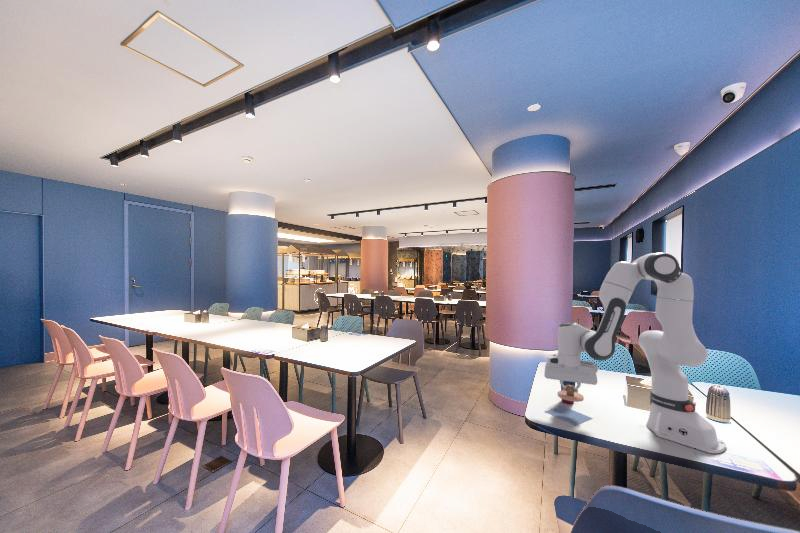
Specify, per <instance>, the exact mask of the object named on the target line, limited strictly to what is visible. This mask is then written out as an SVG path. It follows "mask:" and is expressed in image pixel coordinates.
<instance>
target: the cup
mask: <svg viewBox="0 0 800 533" xmlns="http://www.w3.org/2000/svg"><path fill="white" fill-rule="evenodd" d="M563 384H564V386H566V385H573V386H574V387H576V382H569V381H563ZM560 391H563V387H562V385H561V384H560ZM561 402H562V403H563V404H565V405H574V404H575V402H573V401H567V400H564V399H561Z"/></svg>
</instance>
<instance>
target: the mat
mask: <svg viewBox="0 0 800 533" xmlns="http://www.w3.org/2000/svg"><path fill="white" fill-rule="evenodd" d="M544 413H546V414H549V415H551V416H553V417H555V418H557V419H559V420H561V421H564V422H566V423H569V424H570V425H573V426H575V427H576V426H579V425H580V424H583V423H586V422H588V421H590V420H593V419H594V418H593V417H591V416H588V415H585V414H583V413H581V412H578V411H576V410H573V409H571V408H568V407H565V406H564V405H559V406H557V407H553V408H550V409H548V410H545V411H544Z"/></svg>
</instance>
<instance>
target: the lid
mask: <svg viewBox="0 0 800 533" xmlns="http://www.w3.org/2000/svg"><path fill="white" fill-rule="evenodd" d="M557 397H558V398H560V399H561V400H562V399H564V400H567V401H573V402H574V403H575V402H576V403H577V402H578V403H579V402H583V401H584V399H585V396H583V394H581V393H579V392H578V393H576V392H574V386H573V385H566V391H561V390H559V391H557Z"/></svg>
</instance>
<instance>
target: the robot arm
mask: <svg viewBox="0 0 800 533" xmlns="http://www.w3.org/2000/svg"><path fill="white" fill-rule="evenodd" d="M641 281H653V282H654V283H655V284H656V287H657V293H656V301H655V310H654V311H655V312H654V317H655V318H656V319H657V321H658V322H659V323H660V325H661V329H662V330H656V329H654V330H653V329H652V330H645V331H643V332H641V333H640V334H639V336H638V340H637V343H638V347H640V349H641V350H642V351H643V353H644V354H645V357H646V360H647V362H648V365H649V369H650V375H651V391H650V394H649V402H650V403H649V404H650V411H649V415H648V419H647V422H646V424H645V425H646V427H647V428H648V429H650V430H651V431H652V432H653V433H654V434H655V435H656V436H657V437H659V438H660V439H664V440H665V439H666V440H668V441H671V442H674V443H677V444H680V445H683V446H686V447H690V448H694V449H695V448H696V449H695V450H699V451H702V452H704V453H709V454H720V453H723V452H725V450H726V449H727V446H726V442H725V441H723V439H719V438H718V435H717V431H716V429H715V427H714V425H713V424H712V423H710V422H709V421H708V420H707V419H705V418H704V417H703V416H702V415H700V414H699V413H698V412H697V411H696V406H697V402H696V401H695V402H693V401H692V400H691V399H689V379H688V377H687V375H686V374H685V373H684V372H683V371H682V368H681V367H680V366H682V367H690V368H691V367H692V368H697V367H700V366H703V364H705V363H706V361H707V359H708V351H707V348H706V347H705V346H704V344H702V342H701V341H700V340H699V338H698V336H697V334H696V332H695V328H694V324H693V310H694V298H695V297H694V296H695V293H694V282H693V278H692V277H691V276H690V275H689V274H687V273H685V272H683V270H682V268H681V266H680V263H679V261H678V259H677V257H675V256H673V255H672V254H670V253H667V252H662V251H661V252H655V253H654V252H651V253H647V254H644V255H640V256H639V257H636V258H635V259H633V260H632V261H622V260H621V261H618V262H615V263H614V264H613V265H612V266H611V268H610V270H609V271H608V272H607V273H606V276H605V277H604V279H603V281H602V284H601V286H600V289H599V291H598V292H599V293H598V298H599V300H600V302H601V304H602V306H603V315H602V318H601V319H600V320H601V321H600V323H599V326H598V328H597V330H593V329H589V328H587V327H584V326H582V325H580V324H579V323H578V322H574V321H567V322H566V321H565V322H563V323H561V324H560V325H559V326H558V330H557V344H558V348H557V353H554V354H553V353H552V354H548V355H547V358H546V360H547V361H546V363H545V365H544V366H545V367H544V378H545V379H549V380H555V381H559V383H560V386H561V385H562V387H563V391H566V386H564V384H563V381H569V382H575V383H576V386H575V387H574V392H576V393H579V388H581V386H582V384H585V385H591V386H592V385H594V386H596V385H597V384H598V375H597V372H598V370H599V367H598V364H596V363H595V362H593V361H586V360H582V352H583V353H584V352H585V353H587V355H588V356H589V357H590V358H591V359H593V360H595V361H607V360H609V359H611V358H612V357H613V355H615V353H616V352H615V351H616V338H617V335H618V332H619V329H620V327H621V324H622V322H623V319H624V316H625V314H626V310H627V306H628V304H629V301H630V299H631V297H632V295H633V293H634V291H635V288H636V286H637V284H639V282H641Z"/></svg>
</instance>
